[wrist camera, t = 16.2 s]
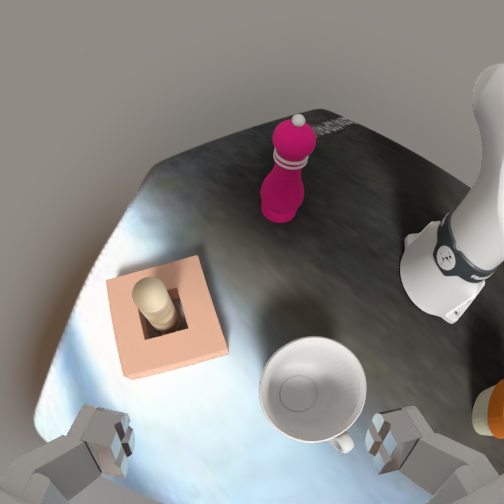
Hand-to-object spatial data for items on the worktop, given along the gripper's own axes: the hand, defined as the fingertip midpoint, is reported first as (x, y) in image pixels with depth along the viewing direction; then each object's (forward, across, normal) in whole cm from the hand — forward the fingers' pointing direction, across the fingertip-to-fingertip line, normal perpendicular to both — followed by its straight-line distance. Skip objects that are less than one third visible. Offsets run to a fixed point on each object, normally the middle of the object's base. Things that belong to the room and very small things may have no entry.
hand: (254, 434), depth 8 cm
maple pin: (+31, +10, +13) cm, 35 cm away
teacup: (+23, -9, +21) cm, 33 cm away
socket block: (+31, +10, +13) cm, 35 cm away
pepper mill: (+46, -7, -2) cm, 47 cm away
